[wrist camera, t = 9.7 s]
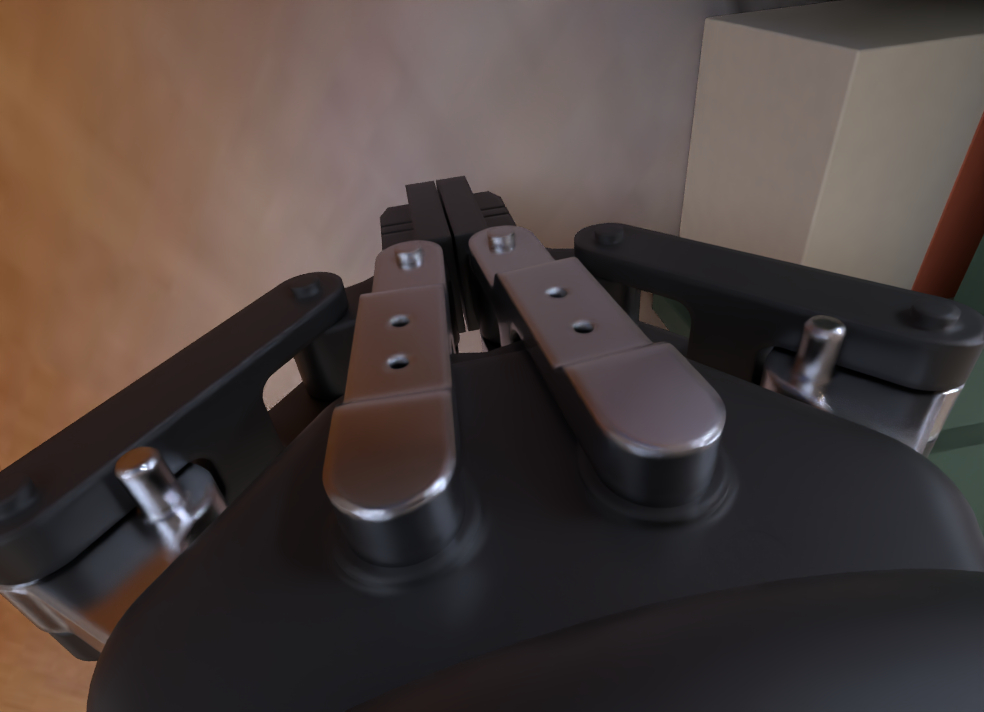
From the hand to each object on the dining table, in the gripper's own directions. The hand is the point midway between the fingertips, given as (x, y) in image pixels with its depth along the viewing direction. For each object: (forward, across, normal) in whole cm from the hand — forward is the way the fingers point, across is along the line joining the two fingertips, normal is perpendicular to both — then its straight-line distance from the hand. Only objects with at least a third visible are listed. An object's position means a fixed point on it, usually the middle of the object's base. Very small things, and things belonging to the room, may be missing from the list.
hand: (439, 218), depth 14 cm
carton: (+3, -12, 0) cm, 13 cm away
